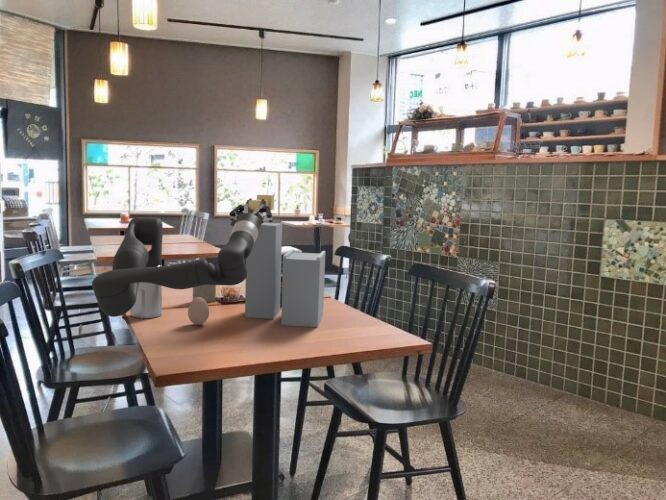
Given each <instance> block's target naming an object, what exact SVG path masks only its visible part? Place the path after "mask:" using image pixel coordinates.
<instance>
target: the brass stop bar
mask: <svg viewBox="0 0 666 500" xmlns="http://www.w3.org/2000/svg"><path fill="white" fill-rule="evenodd" d="M262 199H264V201H266V206H269V208H270V210H271V211H274V209H275V195H274V194H273V195H272V194H256V199H252V200H249V199H248V200H249V210H251V211H255V209H256V208H257V207H259V206H260V203H261V200H262Z"/></svg>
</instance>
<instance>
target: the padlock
mask: <svg viewBox="0 0 666 500" xmlns="http://www.w3.org/2000/svg"><path fill="white" fill-rule="evenodd" d="M208 263H209V264H210V266H211V267H212V268H215V265H214V264H213V263H211V262H208ZM216 286H217V285H202V286H198V287H193V288H192V300H193V299H195V298H196V297H201V298H203V299H204V300H205V301H206V302H207V303H213V301H214V302H216V295H217V294H216V289H217V288H216Z"/></svg>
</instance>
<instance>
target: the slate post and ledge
mask: <svg viewBox="0 0 666 500" xmlns="http://www.w3.org/2000/svg"><path fill="white" fill-rule="evenodd" d="M282 240H283V223H281V222H279V223H277V222H276V223H275V222H264V223H262V224H261V227H260V230H259V233H258V237H257V239H256V241H255V243H254V245H253V248H252V251H251V253H250V255H249V256H248V257H247V258H246V259H245V264H246V269H247V277H246V279H245V290H244V291H245V299H244V301H245V304H244V306H245V307H244V318H251V319H269V320H272V319H273V320H274V319H275V318H276V316H278V314H279V313H280V312H281V323H280V324H281V326H291V327H292V326H293V327H307V328H308V327H309V328H311V327H312V328H318V327H319V325H320V323H321V320H322V318H323V316H324V302H325V299H324V297H325V274H326V273H325V271H326V270H325V268H326V250H322V251H321V252H320V253H319V252H318V253H314V252H313V253H312V252H297V251H296V250H295V249H291V250H289V251H288V252H287V253H285V254H284V255H283V256H282V247H283V246H282V245H283V244H282V242H283V241H282ZM295 251H296V252H295ZM282 275H283V283H282V306H280V288H281V276H282Z"/></svg>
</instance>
